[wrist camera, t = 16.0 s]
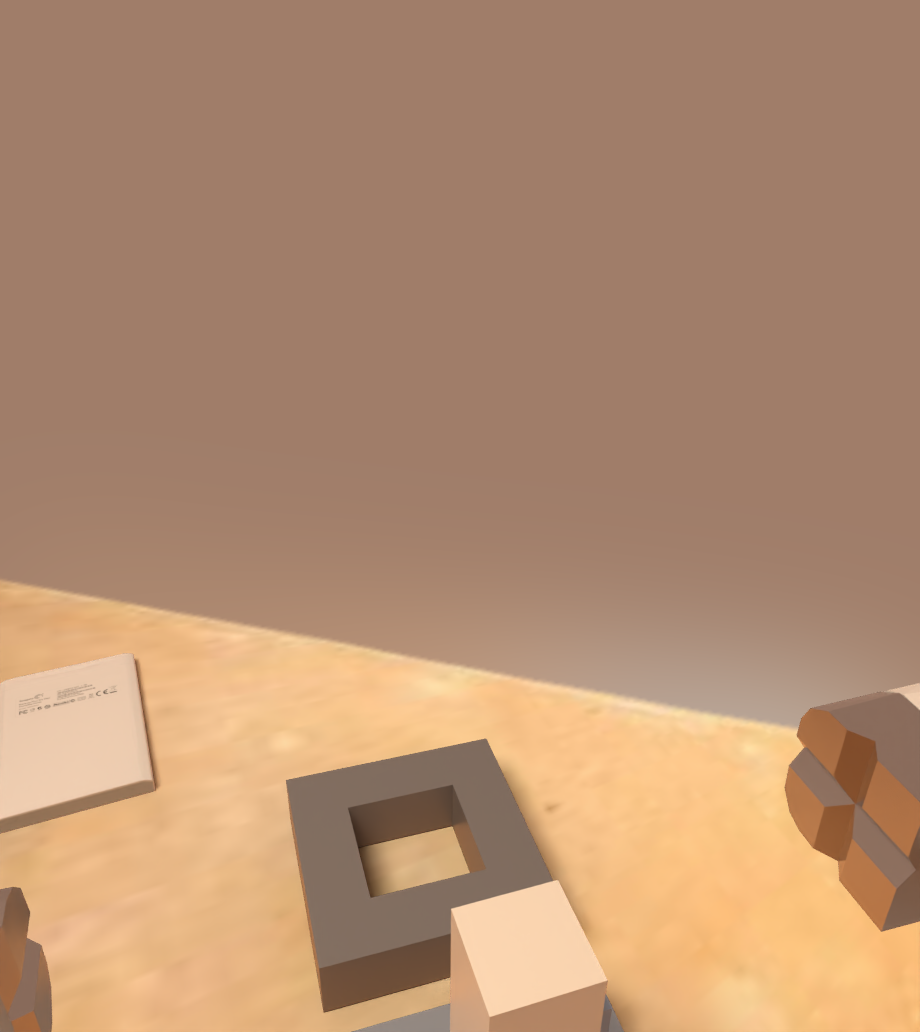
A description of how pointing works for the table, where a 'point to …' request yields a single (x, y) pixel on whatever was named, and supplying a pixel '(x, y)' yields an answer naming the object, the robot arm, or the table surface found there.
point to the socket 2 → (441, 1022)
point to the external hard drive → (71, 741)
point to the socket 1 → (414, 911)
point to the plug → (524, 966)
